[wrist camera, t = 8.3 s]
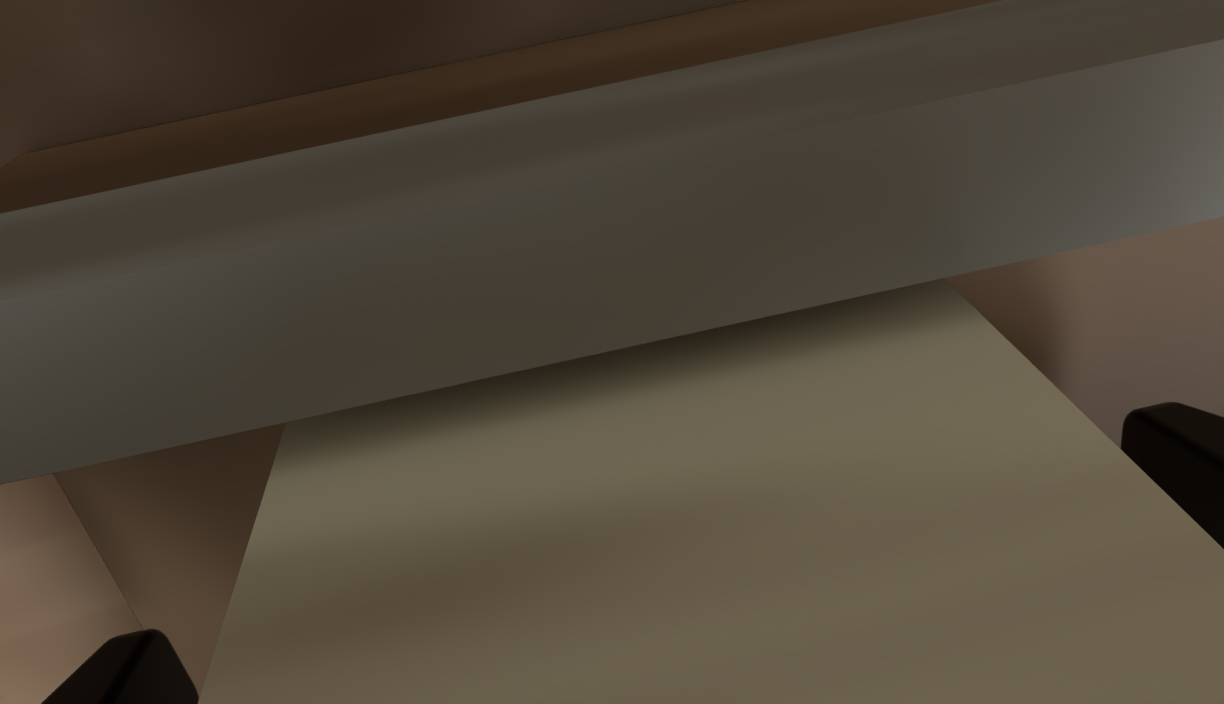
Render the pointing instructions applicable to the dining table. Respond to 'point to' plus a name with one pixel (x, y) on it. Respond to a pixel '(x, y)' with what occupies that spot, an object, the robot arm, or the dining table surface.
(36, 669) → the dining table surface
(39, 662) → the dining table surface
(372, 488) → the beige block
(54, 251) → the walnut board
